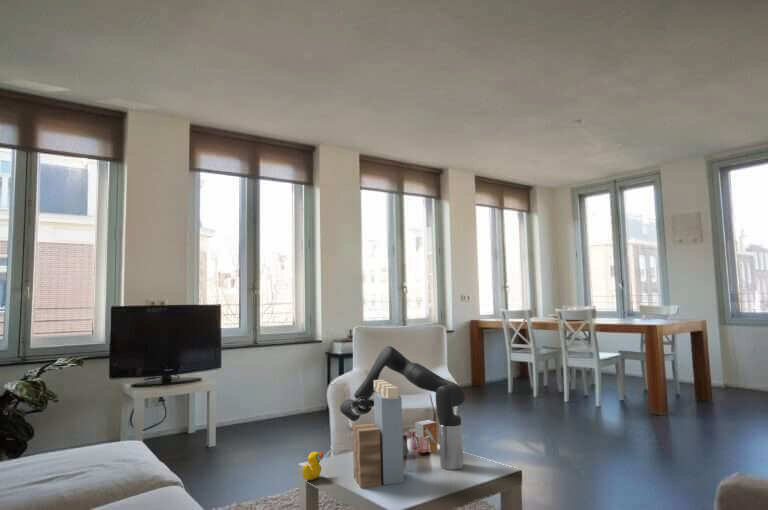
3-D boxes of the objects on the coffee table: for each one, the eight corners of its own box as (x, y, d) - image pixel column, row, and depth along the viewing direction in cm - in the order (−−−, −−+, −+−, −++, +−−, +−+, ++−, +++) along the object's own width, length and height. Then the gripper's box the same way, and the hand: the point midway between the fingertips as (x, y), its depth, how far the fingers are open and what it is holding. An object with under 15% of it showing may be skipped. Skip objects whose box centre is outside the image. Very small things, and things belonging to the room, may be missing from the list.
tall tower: (375, 474, 200) (373, 393, 203) (394, 472, 202) (392, 391, 205) (383, 485, 188) (381, 398, 192) (403, 482, 191) (401, 396, 194)
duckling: (316, 473, 204) (316, 448, 205) (327, 475, 201) (327, 449, 202) (298, 482, 194) (298, 455, 195) (309, 484, 192) (309, 457, 193)
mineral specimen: (390, 451, 230) (393, 433, 230) (408, 456, 227) (411, 438, 227) (385, 455, 223) (389, 437, 223) (403, 460, 220) (407, 442, 220)
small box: (424, 454, 226) (423, 424, 227) (415, 451, 231) (414, 422, 232) (437, 451, 230) (436, 422, 232) (429, 447, 236) (428, 419, 237)
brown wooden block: (353, 477, 198) (352, 424, 200) (373, 475, 200) (372, 422, 202) (360, 488, 186) (359, 431, 188) (381, 485, 188) (379, 429, 190)
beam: (373, 389, 211) (373, 380, 212) (382, 389, 212) (382, 379, 213) (388, 399, 190) (387, 388, 191) (398, 398, 191) (397, 387, 192)
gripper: (345, 398, 224) (356, 393, 211) (375, 395, 230) (387, 390, 216) (347, 416, 222) (358, 411, 208) (377, 412, 227) (390, 408, 213)
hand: (373, 400), depth 212 cm, fingers open, 8 cm apart
